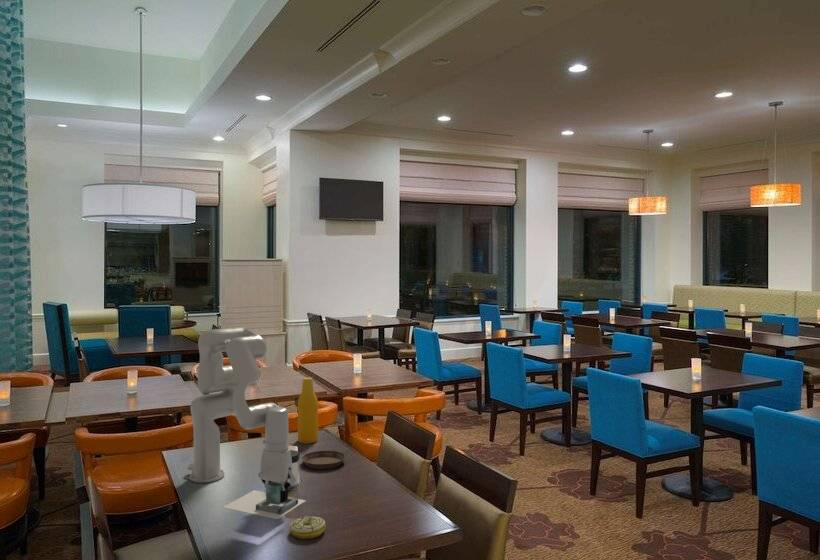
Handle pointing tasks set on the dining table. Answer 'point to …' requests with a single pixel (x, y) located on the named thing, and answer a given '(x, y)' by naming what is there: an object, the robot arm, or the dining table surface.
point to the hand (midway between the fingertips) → (277, 499)
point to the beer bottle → (307, 413)
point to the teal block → (273, 493)
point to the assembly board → (263, 505)
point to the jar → (295, 465)
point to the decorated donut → (307, 527)
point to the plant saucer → (323, 459)
